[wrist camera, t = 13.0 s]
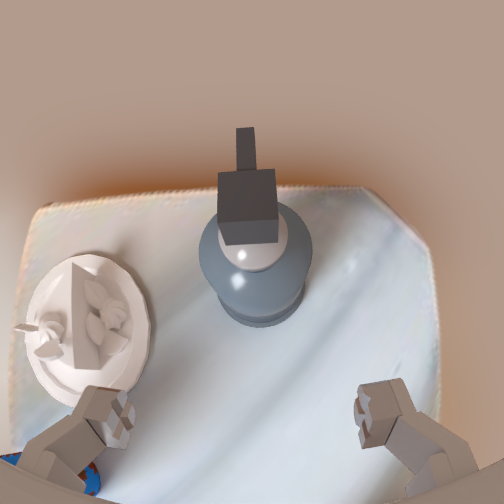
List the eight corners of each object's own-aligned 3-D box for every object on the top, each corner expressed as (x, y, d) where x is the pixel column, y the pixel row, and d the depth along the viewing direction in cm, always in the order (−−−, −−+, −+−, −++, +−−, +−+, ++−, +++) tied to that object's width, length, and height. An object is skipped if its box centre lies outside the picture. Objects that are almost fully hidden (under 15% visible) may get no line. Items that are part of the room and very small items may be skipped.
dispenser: (307, 325, 41) (330, 297, 25) (218, 329, 41) (182, 304, 25) (300, 241, 45) (313, 172, 29) (217, 246, 46) (188, 180, 29)
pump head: (277, 252, 26) (278, 219, 20) (229, 255, 26) (217, 223, 20) (271, 168, 29) (270, 123, 23) (229, 171, 29) (219, 127, 23)
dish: (133, 432, 37) (93, 448, 26) (18, 373, 40) (-26, 368, 30) (170, 274, 45) (142, 246, 34) (52, 246, 48) (14, 219, 38)
